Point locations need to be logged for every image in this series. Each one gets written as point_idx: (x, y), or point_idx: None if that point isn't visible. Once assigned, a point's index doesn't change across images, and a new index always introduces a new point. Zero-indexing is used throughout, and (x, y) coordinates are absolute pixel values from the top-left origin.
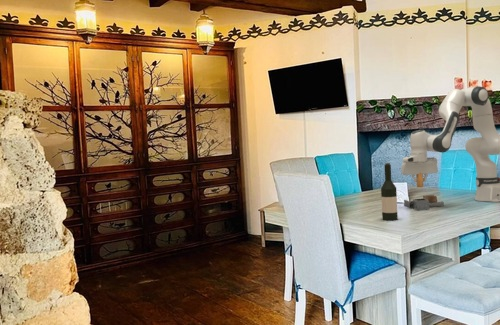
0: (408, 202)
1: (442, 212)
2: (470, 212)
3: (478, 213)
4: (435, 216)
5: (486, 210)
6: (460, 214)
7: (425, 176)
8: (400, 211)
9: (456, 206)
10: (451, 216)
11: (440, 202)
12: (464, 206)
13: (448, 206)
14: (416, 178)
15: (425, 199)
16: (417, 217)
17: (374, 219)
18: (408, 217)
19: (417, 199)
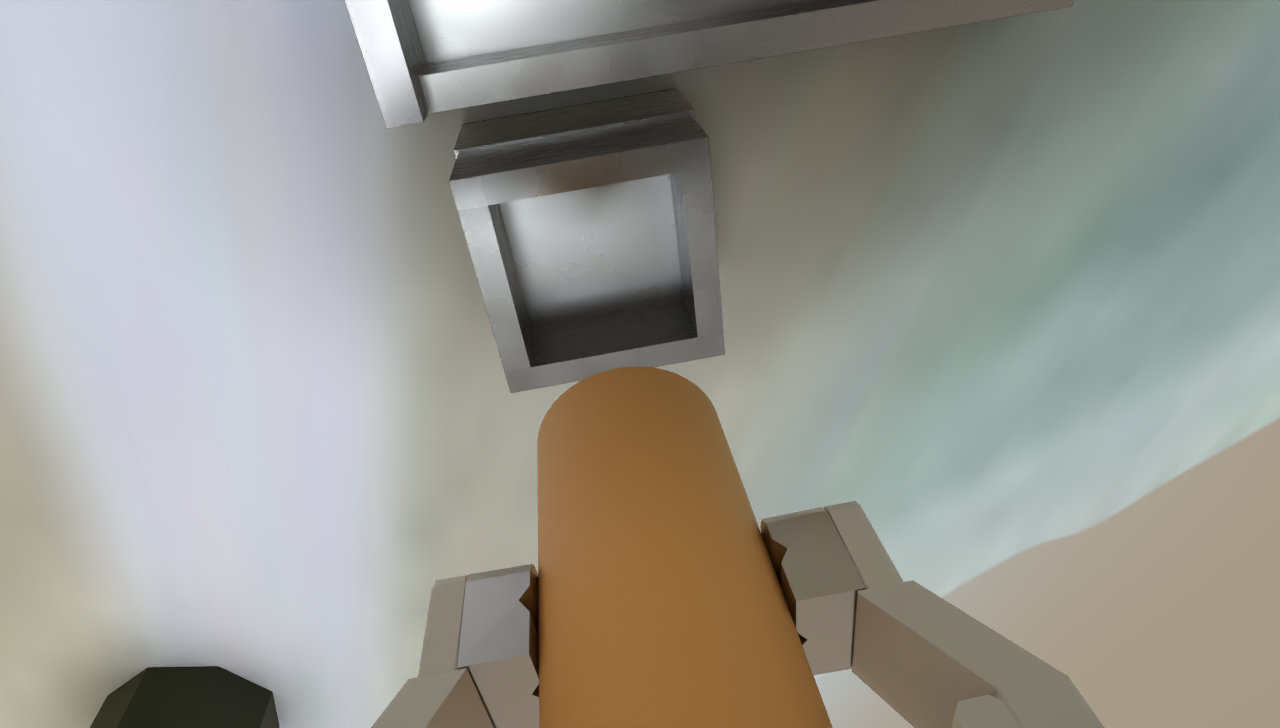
0: (364, 50)
1: (783, 463)
2: (1038, 482)
3: (1068, 526)
4: None
5: (1246, 403)
6: (898, 556)
7: (934, 718)
8: (259, 359)
9: (1175, 70)
10: None
11: (1011, 14)
12: (1267, 95)
13: (1074, 42)
14: (539, 688)
15: (694, 271)
16: None
17: (24, 720)
18: (381, 652)
19: (551, 190)
